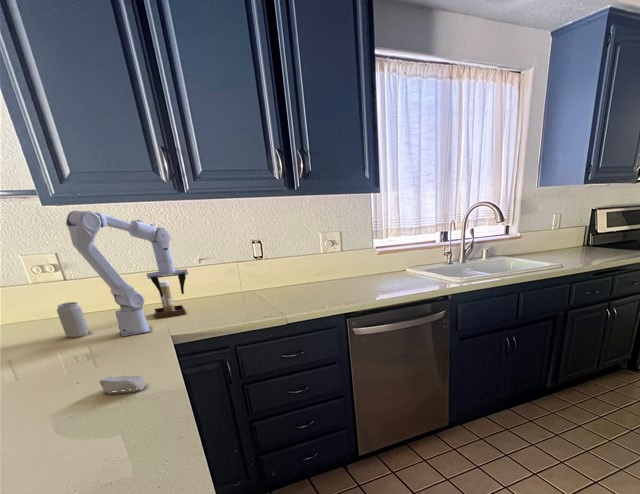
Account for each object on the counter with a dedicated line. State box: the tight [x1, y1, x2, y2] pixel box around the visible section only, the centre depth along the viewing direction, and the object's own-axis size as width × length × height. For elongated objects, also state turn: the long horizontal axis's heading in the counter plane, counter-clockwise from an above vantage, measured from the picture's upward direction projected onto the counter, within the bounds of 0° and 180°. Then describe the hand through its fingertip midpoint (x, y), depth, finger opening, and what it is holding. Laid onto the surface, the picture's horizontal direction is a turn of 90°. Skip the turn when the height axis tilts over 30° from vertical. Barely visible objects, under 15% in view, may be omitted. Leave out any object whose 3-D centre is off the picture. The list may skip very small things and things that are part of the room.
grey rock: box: [99, 375, 146, 395], centre depth 115 cm, size 10×6×6 cm, turn 91°
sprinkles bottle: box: [158, 279, 175, 312], centre depth 181 cm, size 5×5×14 cm
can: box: [56, 301, 90, 339], centre depth 158 cm, size 8×8×12 cm
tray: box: [154, 304, 186, 319], centre depth 184 cm, size 11×9×2 cm
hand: (172, 294), depth 171 cm, fingers open, 7 cm apart
